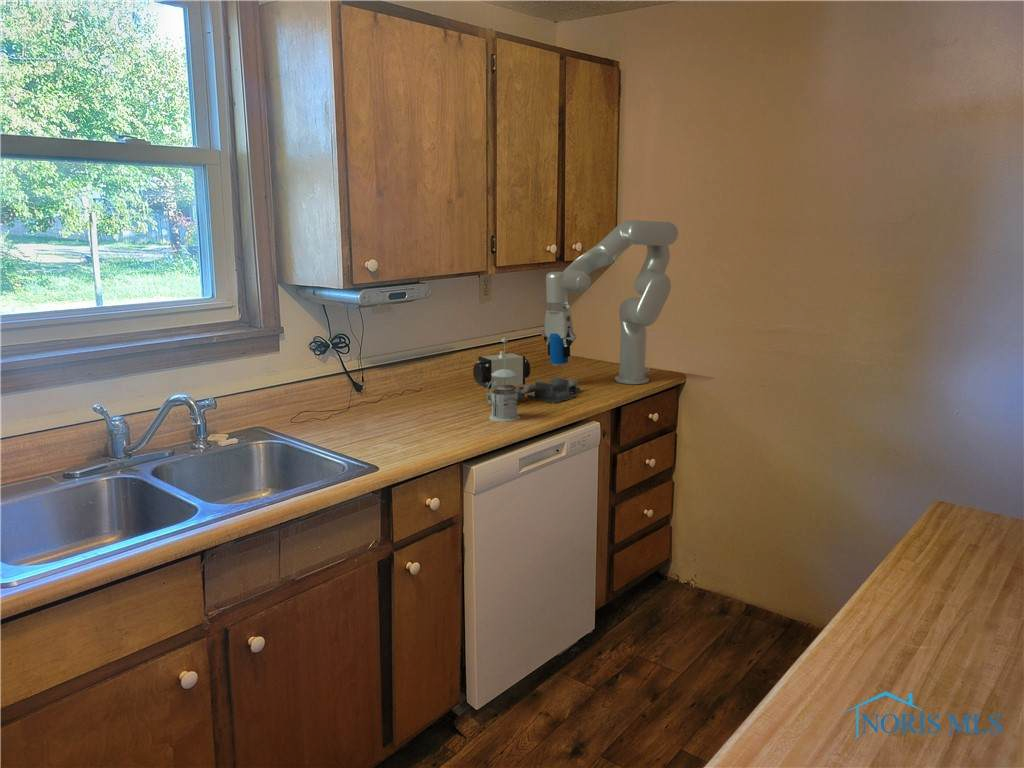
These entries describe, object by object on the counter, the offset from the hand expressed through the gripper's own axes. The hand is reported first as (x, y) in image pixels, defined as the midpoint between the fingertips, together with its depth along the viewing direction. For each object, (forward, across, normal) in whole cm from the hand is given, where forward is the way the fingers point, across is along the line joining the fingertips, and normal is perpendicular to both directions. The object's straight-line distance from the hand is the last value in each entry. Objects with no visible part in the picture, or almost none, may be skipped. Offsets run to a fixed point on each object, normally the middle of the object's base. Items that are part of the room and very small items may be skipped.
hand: (559, 355), depth 276 cm
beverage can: (+3, 0, 0) cm, 3 cm away
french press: (+10, -15, +46) cm, 50 cm away
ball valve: (+10, -2, +34) cm, 35 cm away
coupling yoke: (+11, -8, +15) cm, 20 cm away
